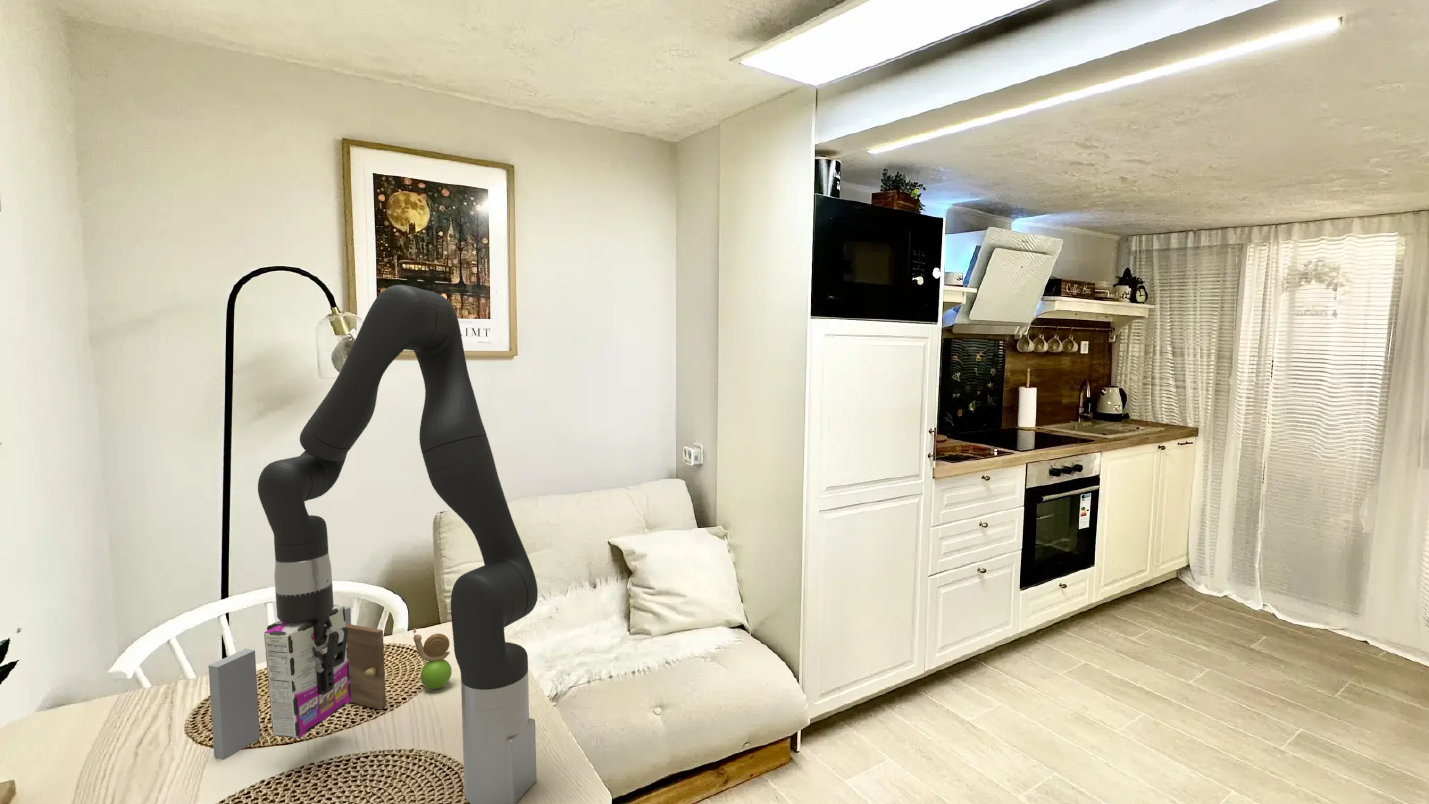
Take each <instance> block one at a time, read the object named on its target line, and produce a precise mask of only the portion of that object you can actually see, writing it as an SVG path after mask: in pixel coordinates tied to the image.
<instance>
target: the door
mask: <svg viewBox="0 0 1429 804" xmlns="http://www.w3.org/2000/svg"><path fill="white" fill-rule="evenodd" d="M346 628H347V629H348V636H347V650H348V651H347V652H348V661H349V663H348V664H349V676H350V689H351V701H350V702H349V703H351V702H353V703H352V704H355V703H356V705H359V706H360V705H361V706H365V707H370V708H374V709H379V710H382V709H383V708H385V707H386V706H387V699H386V671H385V651H384V650H385V646H384V630H383V629H379V628H373V627H368V626H362V625H357V624H352V623H351V624H346Z"/></svg>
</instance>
